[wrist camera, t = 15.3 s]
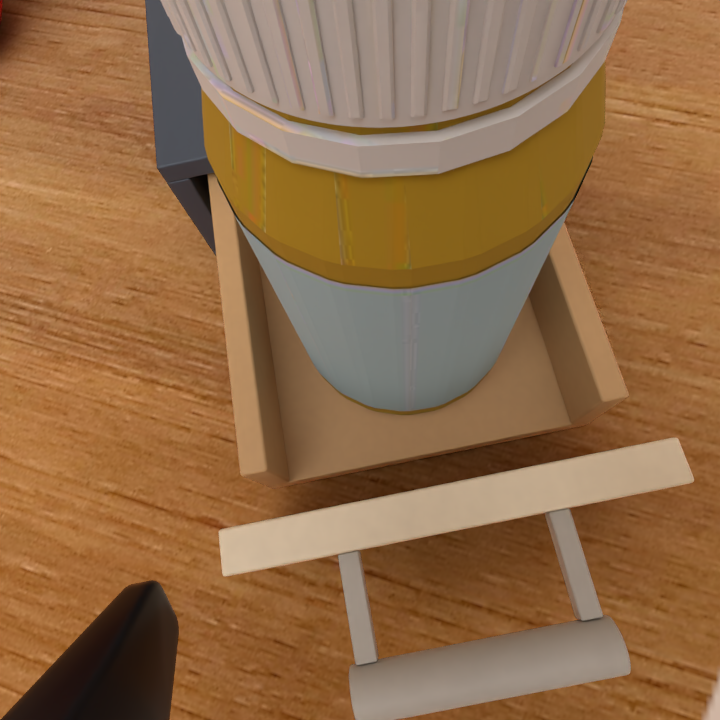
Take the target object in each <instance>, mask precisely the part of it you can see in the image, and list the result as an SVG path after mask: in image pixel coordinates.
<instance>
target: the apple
mask: <svg viewBox="0 0 720 720" xmlns="http://www.w3.org/2000/svg"><path fill="white" fill-rule="evenodd" d="M2 3H3V0H0V23H1V17H2Z"/></svg>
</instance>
